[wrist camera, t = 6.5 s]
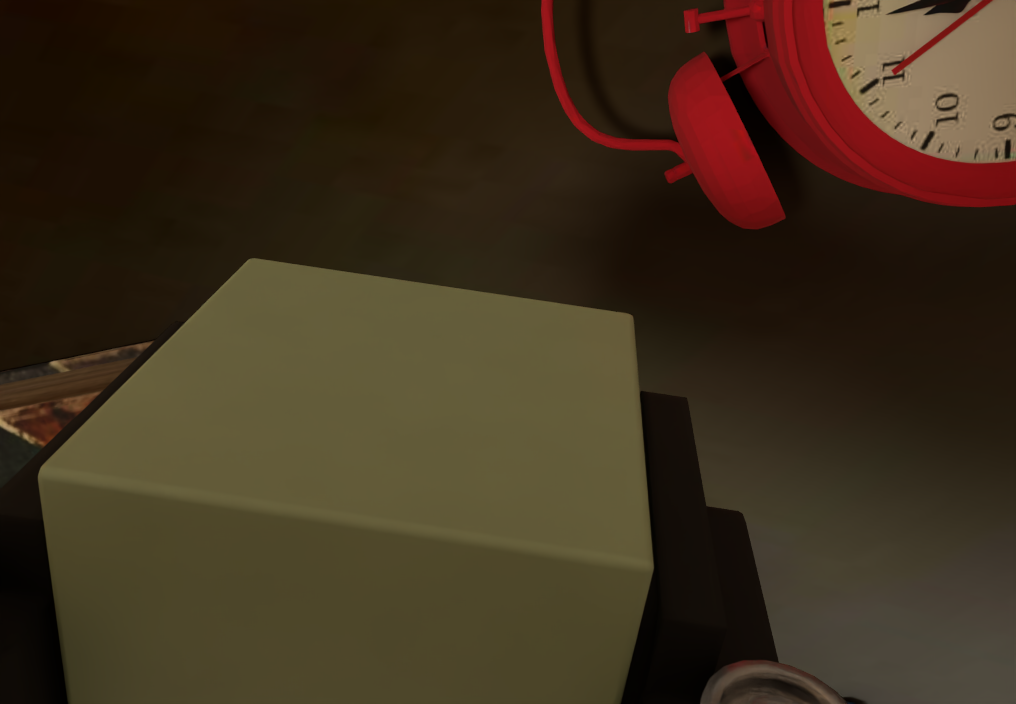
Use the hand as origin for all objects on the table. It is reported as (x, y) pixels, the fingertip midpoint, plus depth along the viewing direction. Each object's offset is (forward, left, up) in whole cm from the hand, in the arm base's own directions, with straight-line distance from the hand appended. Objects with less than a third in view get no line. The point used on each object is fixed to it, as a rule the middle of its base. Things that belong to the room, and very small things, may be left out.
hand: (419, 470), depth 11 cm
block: (0, 0, -1) cm, 1 cm away
